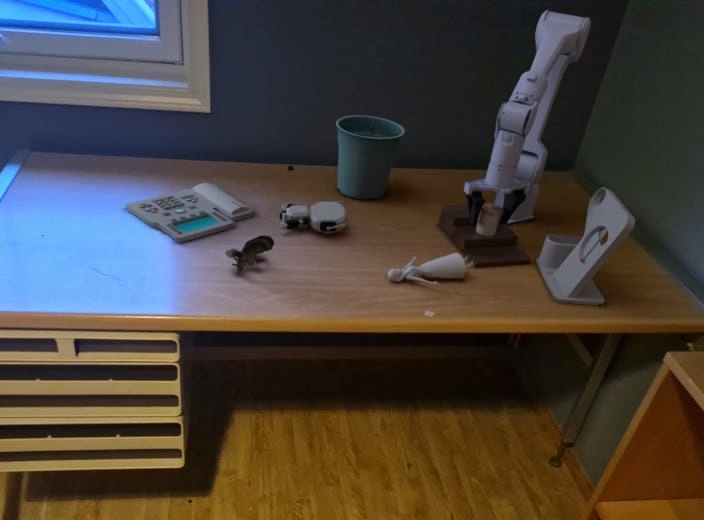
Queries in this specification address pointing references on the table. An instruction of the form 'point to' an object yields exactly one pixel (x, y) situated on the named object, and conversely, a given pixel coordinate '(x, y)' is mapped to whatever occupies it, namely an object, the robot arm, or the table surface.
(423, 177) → the table surface
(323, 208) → the robot toy
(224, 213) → the office telephone
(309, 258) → the table surface
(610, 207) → the phone holder
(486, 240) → the step shelf
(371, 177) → the flower pot
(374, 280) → the table surface
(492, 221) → the jar
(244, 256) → the brown animal figurine
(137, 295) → the table surface
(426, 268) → the woman figurine
